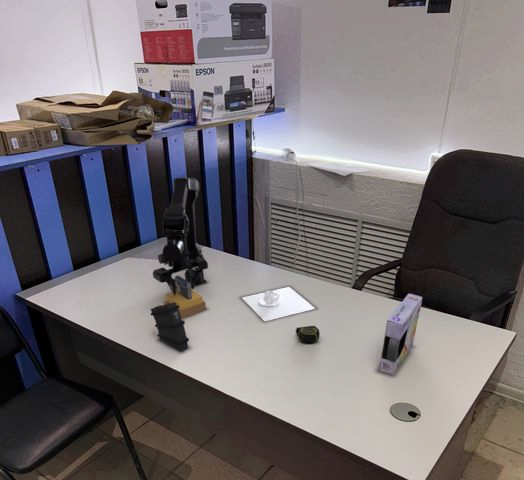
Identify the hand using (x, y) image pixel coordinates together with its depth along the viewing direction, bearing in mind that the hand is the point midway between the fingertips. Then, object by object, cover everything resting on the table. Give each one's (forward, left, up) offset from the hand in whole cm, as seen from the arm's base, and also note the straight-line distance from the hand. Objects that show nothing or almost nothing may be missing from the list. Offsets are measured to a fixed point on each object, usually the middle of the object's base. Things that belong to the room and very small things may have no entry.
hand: (183, 291), depth 173 cm
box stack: (0, 0, -7) cm, 7 cm away
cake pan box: (-31, +69, -7) cm, 76 cm away
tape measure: (-19, +43, -7) cm, 48 cm away
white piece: (-28, +18, -7) cm, 34 cm away
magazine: (+16, +17, -7) cm, 24 cm away
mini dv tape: (0, 0, -2) cm, 2 cm away
